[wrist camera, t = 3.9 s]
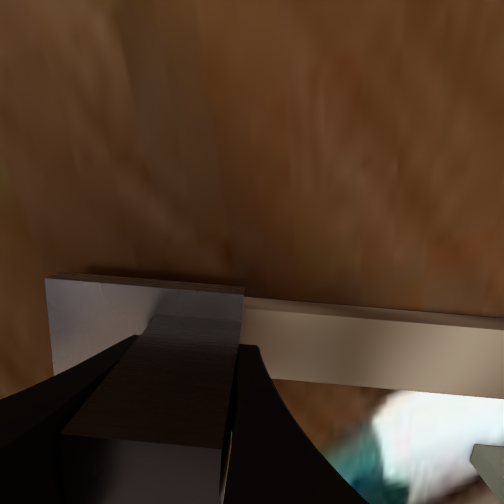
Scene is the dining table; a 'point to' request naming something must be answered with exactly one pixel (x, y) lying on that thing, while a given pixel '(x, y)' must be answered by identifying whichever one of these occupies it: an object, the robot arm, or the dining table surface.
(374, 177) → the dining table surface
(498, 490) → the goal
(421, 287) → the dining table surface
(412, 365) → the rail
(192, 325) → the slider
